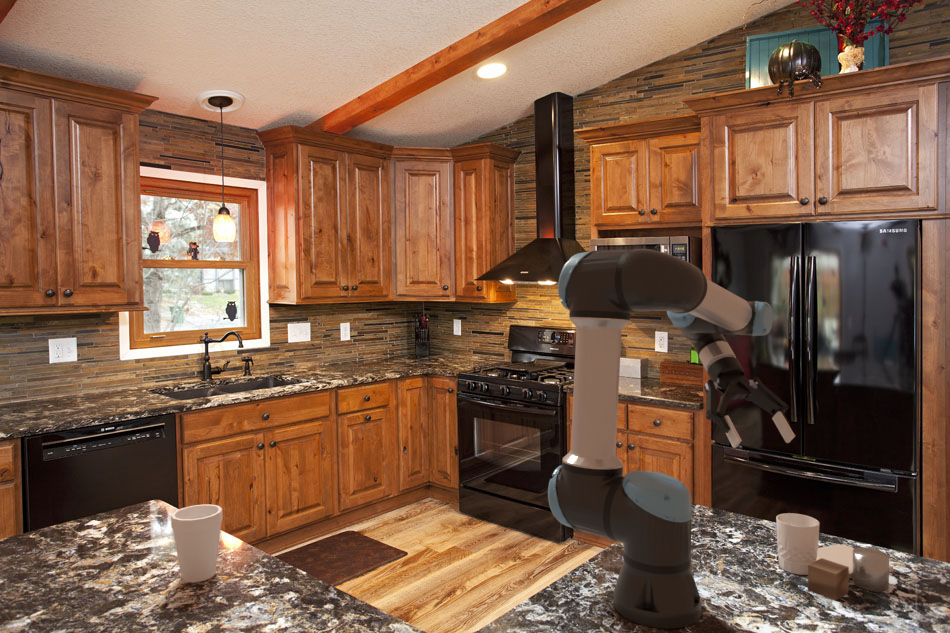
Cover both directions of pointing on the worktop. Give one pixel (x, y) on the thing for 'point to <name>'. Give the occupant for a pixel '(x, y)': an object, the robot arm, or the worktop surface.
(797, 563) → the white cup
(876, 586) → the grey tin
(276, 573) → the worktop surface
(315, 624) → the worktop surface
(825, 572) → the walnut block
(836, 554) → the tile
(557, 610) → the worktop surface
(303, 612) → the worktop surface
